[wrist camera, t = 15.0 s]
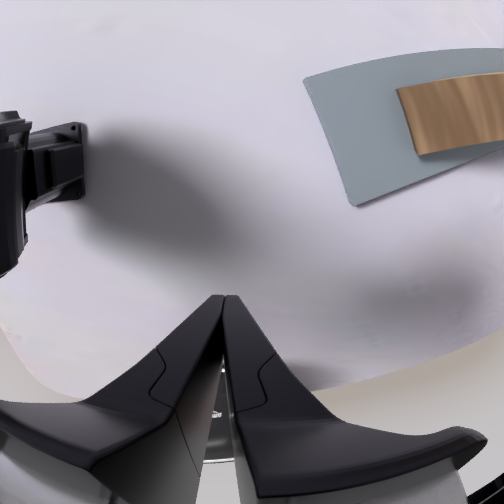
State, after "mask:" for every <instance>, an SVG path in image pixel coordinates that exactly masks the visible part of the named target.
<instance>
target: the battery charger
mask: <svg viewBox="0 0 504 504" xmlns="http://www.w3.org/2000/svg"><path fill="white" fill-rule="evenodd" d="M233 461H235V460H234V452H233V444H232V436H231V427H230V418H229V409H228V400H227V390H226V380H225V370H224V357H223V364H222V370H221V375H220V380H219V385H218V390H217V395H216V400H215V405H214V410H213V415H212V420H211V425H210V430H209V435H208V440H207V445H206V450H205V456H204V461H203V464H207V463H224V462H233Z"/></svg>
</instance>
